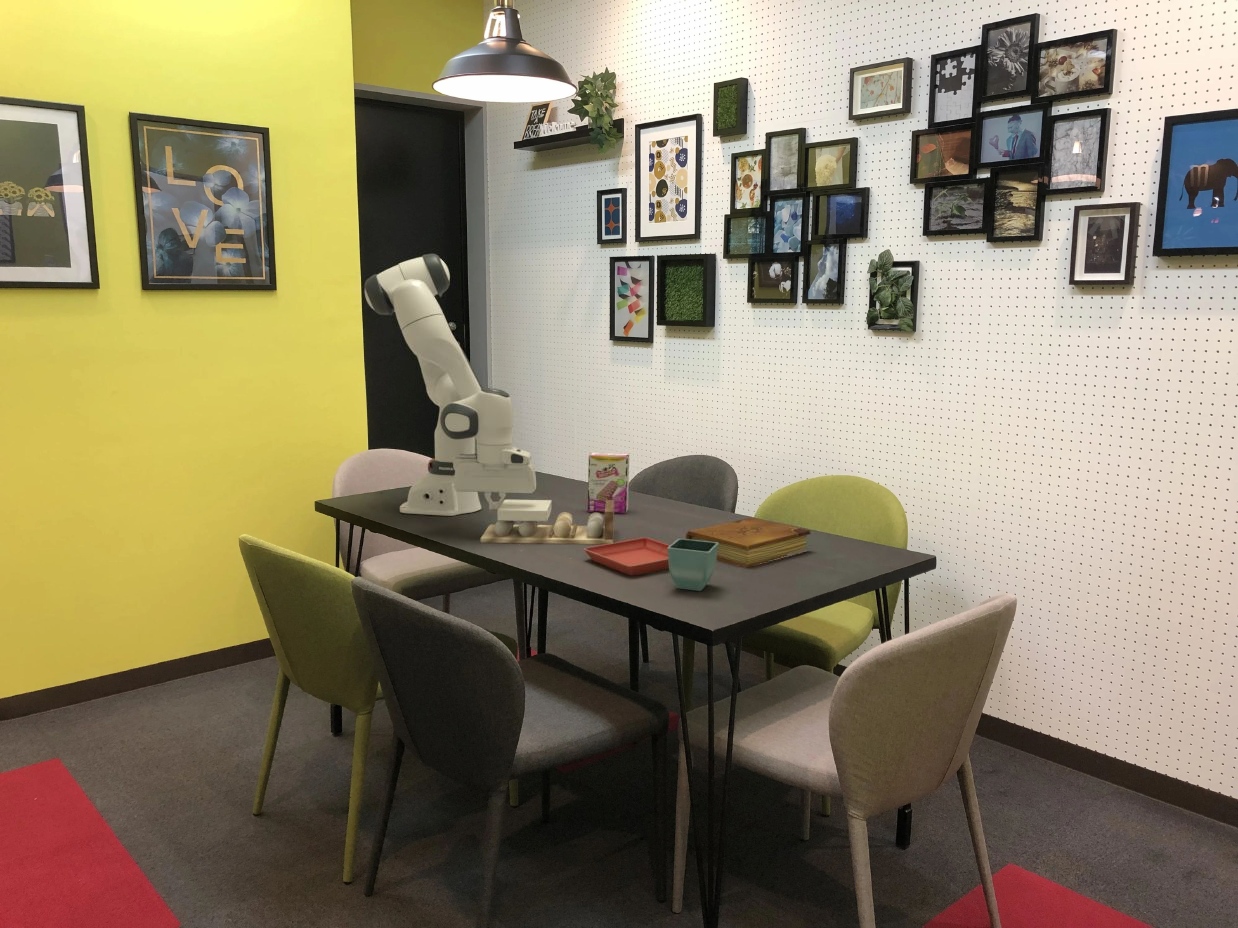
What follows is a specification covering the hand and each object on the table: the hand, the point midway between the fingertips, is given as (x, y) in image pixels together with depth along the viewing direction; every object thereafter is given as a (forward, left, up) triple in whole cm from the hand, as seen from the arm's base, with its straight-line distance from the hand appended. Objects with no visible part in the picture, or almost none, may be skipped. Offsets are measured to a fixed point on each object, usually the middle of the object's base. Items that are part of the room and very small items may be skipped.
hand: (495, 509), depth 231 cm
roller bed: (+14, 0, -7) cm, 15 cm away
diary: (+62, -12, -7) cm, 63 cm away
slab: (+8, 0, -1) cm, 8 cm away
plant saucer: (+35, -24, -7) cm, 43 cm away
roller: (+17, 0, -6) cm, 18 cm away
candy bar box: (+28, +30, -7) cm, 41 cm away
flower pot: (+47, -42, -7) cm, 63 cm away
